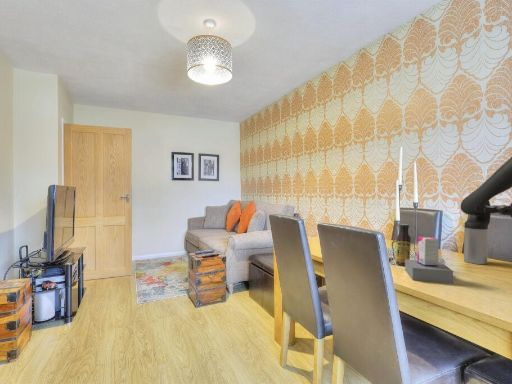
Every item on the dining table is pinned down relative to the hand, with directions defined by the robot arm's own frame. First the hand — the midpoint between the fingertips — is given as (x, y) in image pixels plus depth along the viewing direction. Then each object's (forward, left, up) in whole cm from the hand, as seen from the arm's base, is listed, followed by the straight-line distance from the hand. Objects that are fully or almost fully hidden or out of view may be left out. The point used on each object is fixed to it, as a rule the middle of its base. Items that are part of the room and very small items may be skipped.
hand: (479, 209), depth 115 cm
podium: (+7, -21, -29) cm, 36 cm away
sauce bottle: (-10, -27, -29) cm, 41 cm away
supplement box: (+6, -21, -24) cm, 32 cm away
